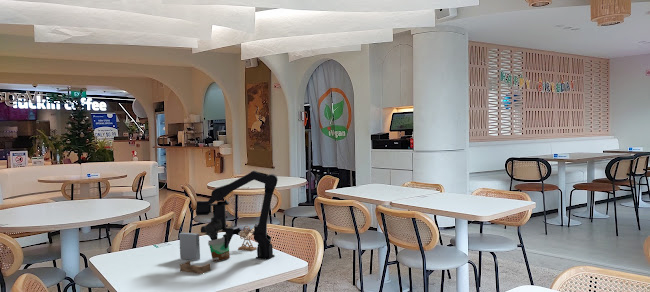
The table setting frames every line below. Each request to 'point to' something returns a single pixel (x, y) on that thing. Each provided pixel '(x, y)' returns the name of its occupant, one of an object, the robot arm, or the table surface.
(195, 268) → the frame
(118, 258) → the table surface
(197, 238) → the sliding gate
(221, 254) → the food container
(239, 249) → the lattice stand
